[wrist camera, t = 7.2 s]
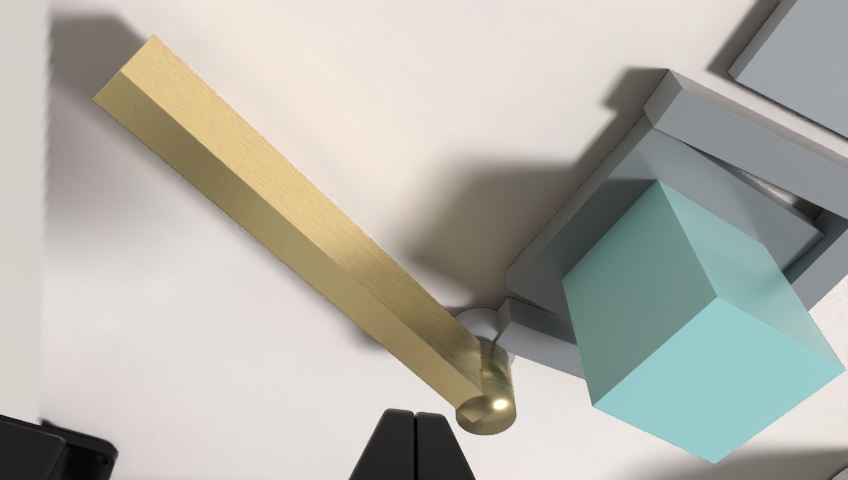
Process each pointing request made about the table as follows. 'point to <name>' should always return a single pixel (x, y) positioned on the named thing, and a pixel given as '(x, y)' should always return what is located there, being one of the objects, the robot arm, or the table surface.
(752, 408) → the plug
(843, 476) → the supplement bottle
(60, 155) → the table surface
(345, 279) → the clip
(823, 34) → the pad
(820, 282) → the socket
